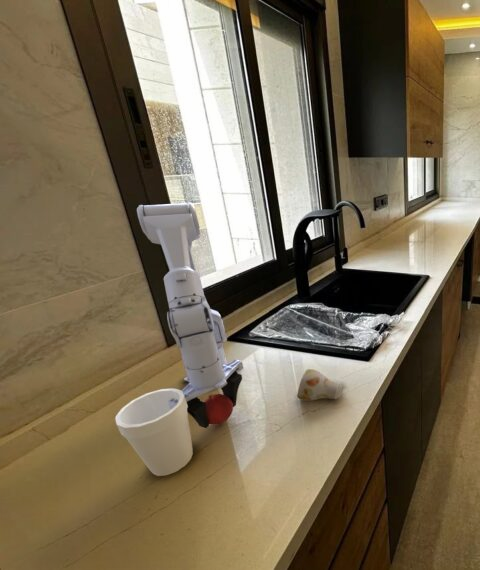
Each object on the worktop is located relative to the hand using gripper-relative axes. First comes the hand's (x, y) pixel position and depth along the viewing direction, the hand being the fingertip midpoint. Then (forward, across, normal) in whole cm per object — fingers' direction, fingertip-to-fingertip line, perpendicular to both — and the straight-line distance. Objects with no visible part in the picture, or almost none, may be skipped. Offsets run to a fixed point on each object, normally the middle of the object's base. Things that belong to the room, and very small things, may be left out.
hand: (218, 415), depth 69 cm
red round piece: (+2, 0, 0) cm, 2 cm away
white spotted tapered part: (+2, +15, -15) cm, 21 cm away
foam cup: (+2, -10, 0) cm, 10 cm away
